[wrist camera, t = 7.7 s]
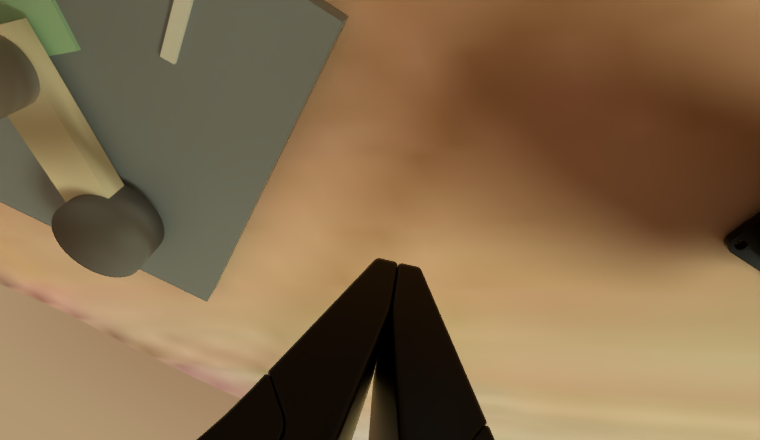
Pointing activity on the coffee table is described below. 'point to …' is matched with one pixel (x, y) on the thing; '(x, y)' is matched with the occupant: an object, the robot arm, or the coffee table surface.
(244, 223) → the plate
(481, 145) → the coffee table surface
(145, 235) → the lever
